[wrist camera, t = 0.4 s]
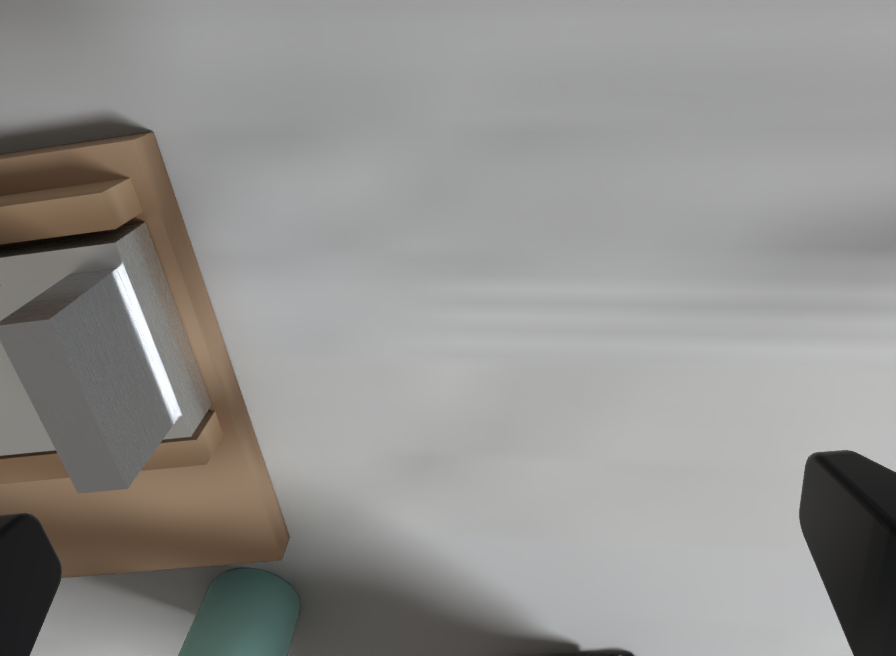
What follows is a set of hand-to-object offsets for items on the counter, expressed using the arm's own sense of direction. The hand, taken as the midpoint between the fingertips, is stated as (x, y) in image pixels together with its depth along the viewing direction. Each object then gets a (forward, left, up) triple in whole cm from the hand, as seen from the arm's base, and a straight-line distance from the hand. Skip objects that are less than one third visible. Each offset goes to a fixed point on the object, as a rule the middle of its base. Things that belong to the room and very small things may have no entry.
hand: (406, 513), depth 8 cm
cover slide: (-2, +13, -12) cm, 18 cm away
